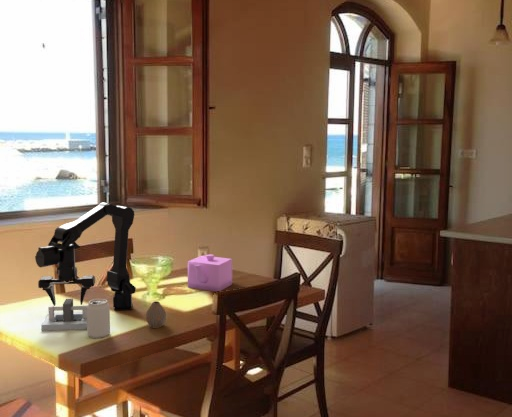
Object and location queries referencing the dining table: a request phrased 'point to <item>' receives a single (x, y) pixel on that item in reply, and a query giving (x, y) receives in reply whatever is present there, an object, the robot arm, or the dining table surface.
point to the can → (98, 318)
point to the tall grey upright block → (68, 311)
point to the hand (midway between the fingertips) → (68, 305)
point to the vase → (156, 315)
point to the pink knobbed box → (209, 273)
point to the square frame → (52, 317)
